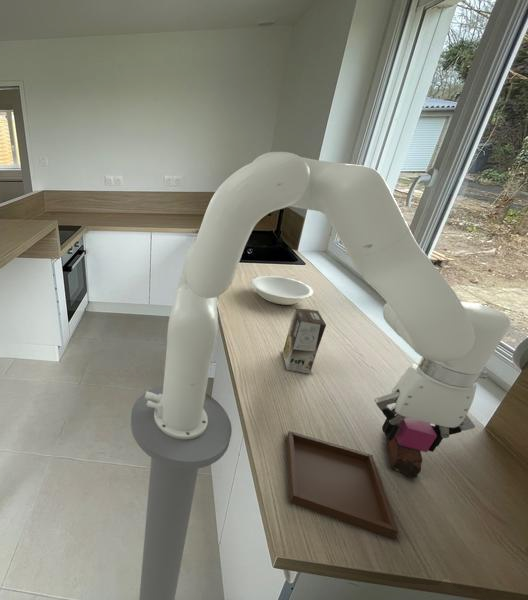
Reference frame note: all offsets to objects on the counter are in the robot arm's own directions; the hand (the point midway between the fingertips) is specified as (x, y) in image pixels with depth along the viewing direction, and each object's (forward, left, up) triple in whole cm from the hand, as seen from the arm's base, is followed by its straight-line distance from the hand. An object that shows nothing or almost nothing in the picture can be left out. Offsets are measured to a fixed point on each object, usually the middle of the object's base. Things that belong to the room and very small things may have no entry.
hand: (407, 439), depth 65 cm
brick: (0, 0, -5) cm, 5 cm away
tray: (-14, -12, -5) cm, 19 cm away
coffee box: (-18, +27, -5) cm, 33 cm away
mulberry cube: (0, 0, 0) cm, 0 cm away
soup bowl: (-22, +73, -5) cm, 76 cm away
